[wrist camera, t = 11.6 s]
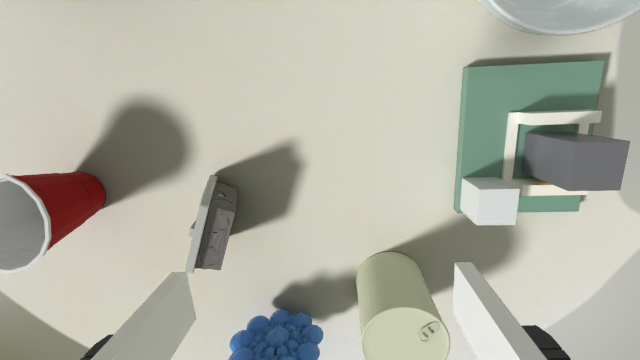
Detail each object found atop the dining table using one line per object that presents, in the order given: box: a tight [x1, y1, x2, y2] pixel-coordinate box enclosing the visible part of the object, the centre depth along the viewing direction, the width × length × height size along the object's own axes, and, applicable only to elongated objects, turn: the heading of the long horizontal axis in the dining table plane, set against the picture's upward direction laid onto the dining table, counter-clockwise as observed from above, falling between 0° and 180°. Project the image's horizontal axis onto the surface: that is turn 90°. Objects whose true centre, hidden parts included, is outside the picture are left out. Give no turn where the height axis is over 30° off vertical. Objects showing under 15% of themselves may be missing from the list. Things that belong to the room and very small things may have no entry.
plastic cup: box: [0, 172, 106, 273], centre depth 37 cm, size 11×11×12 cm
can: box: [356, 252, 450, 360], centre depth 38 cm, size 9×9×12 cm
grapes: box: [229, 309, 323, 360], centre depth 40 cm, size 12×7×12 cm, turn 86°
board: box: [454, 60, 605, 213], centre depth 35 cm, size 17×14×4 cm
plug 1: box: [460, 177, 520, 225], centre depth 36 cm, size 4×4×5 cm
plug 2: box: [521, 132, 630, 191], centre depth 32 cm, size 5×4×8 cm
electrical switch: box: [185, 175, 238, 275], centre depth 38 cm, size 9×5×9 cm, turn 162°
